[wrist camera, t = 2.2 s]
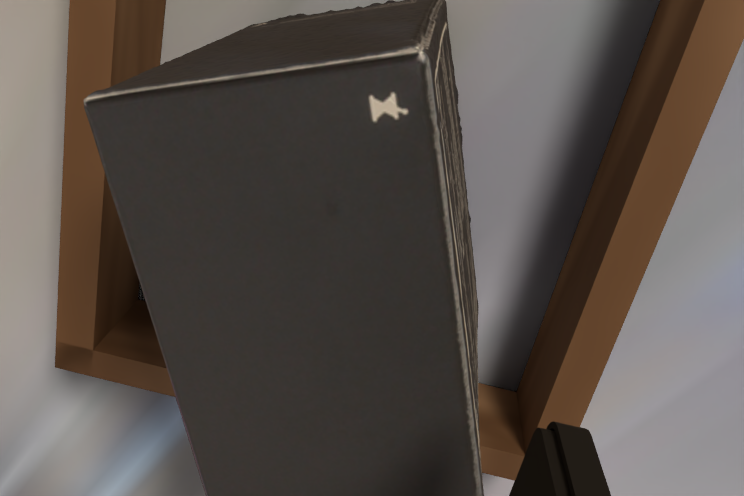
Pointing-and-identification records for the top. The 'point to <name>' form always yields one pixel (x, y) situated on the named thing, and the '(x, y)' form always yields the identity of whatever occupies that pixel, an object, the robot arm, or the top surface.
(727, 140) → the top surface
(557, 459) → the robot arm
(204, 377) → the small box
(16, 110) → the top surface
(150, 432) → the top surface
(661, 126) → the wooden u-shaped frame
